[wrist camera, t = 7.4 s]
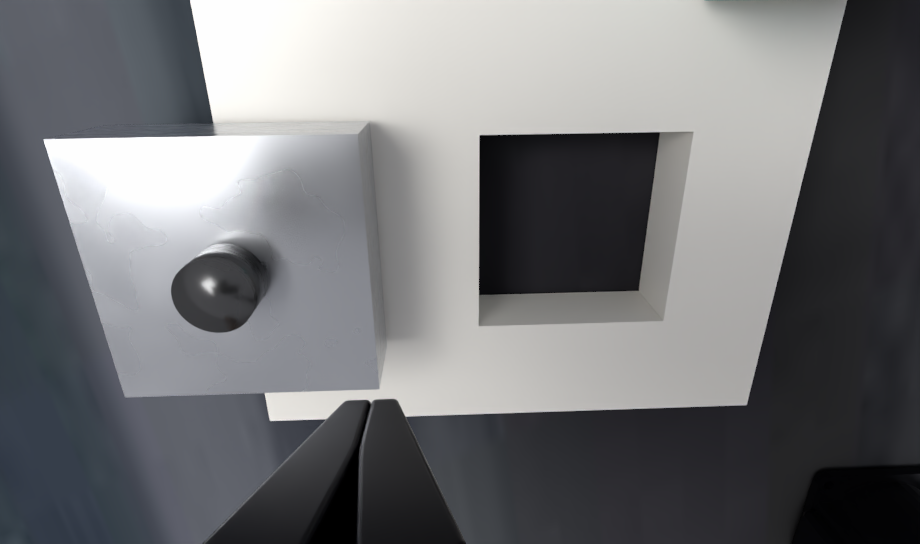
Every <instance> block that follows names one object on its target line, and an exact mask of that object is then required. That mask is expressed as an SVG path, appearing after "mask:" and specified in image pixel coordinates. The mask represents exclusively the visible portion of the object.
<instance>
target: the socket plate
mask: <svg viewBox="0 0 920 544" xmlns="http://www.w3.org/2000/svg"><path fill="white" fill-rule="evenodd" d="M190 2H191V7H192V12H193V17H194V23H195V28H196V33H197V38H198V44H199V49H200V54H201V60H202V65H203V70H204V75H205V81H206V86H207V91H208V97H209V102H210V107H211V112H212V118H213V123H271V122H333V121H370V129H371V142H372V155H373V168H374V182H375V195H376V208H377V221H378V234H379V248H380V261H381V274H382V287H383V300H384V313H385V327H386V340H387V349H386V354H385V360H384V366H383V372H382V378H381V383H380V389H375V390H343V391H312V392H280V393H265V397H266V403H267V408H268V413H269V418H270V421H284V420H315V419H327V418H328V417H329V416H330V415H331V414H332V413H333V412H334V411H335V410H336V409H337V408H338V407H339V406H340V405H341V404H342V403H343V402H345V401H348V400H369V401H370V402H372V401H373V400H376V399H396V400H397V401H398V402H399V404H400V406H401V408H402V410H403V412H404V415H405V416H435V415H465V414H495V413H525V412H555V411H585V410H616V409H646V408H676V407H706V406H736V405H747V402H748V398H749V394H750V390H751V385H752V381H753V377H754V373H755V369H756V365H757V361H758V357H759V353H760V349H761V345H762V341H763V337H764V333H765V329H766V325H767V321H768V317H769V313H770V309H771V305H772V301H773V297H774V293H775V289H776V285H777V281H778V277H779V273H780V269H781V265H782V261H783V257H784V253H785V249H786V245H787V241H788V237H789V233H790V229H791V224H792V220H793V216H794V212H795V208H796V204H797V200H798V196H799V192H800V188H801V184H802V180H803V176H804V172H805V168H806V164H807V160H808V156H809V152H810V148H811V144H812V140H813V136H814V132H815V128H816V124H817V120H818V116H819V112H820V108H821V104H822V100H823V96H824V92H825V88H826V84H827V80H828V76H829V72H830V68H831V63H832V59H833V55H834V51H835V47H836V43H837V39H838V35H839V31H840V27H841V23H842V19H843V15H844V11H845V7H846V3H847V0H723V1H705V0H190ZM638 132H660V136H659V144H658V151H657V158H656V166H655V173H654V181H653V188H652V195H651V203H650V210H649V217H648V225H647V232H646V240H645V247H644V254H643V262H642V269H641V276H640V284H639V291H613V292H575V293H537V294H499V295H479V135H520V134H579V133H638Z"/></svg>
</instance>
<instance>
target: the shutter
mask: <svg viewBox="0 0 920 544" xmlns="http://www.w3.org/2000/svg"><path fill="white" fill-rule="evenodd" d="M43 140H44V143H45V146H46V149H47V152H48V155H49V159H50V162H51V165H52V168H53V171H54V174H55V177H56V181H57V184H58V187H59V190H60V193H61V196H62V200H63V203H64V206H65V209H66V212H67V215H68V219H69V222H70V225H71V228H72V231H73V234H74V237H75V241H76V244H77V247H78V250H79V253H80V256H81V260H82V263H83V266H84V269H85V272H86V275H87V279H88V282H89V285H90V288H91V291H92V294H93V297H94V301H95V304H96V307H97V310H98V313H99V316H100V320H101V323H102V326H103V329H104V332H105V335H106V339H107V342H108V345H109V348H110V351H111V354H112V357H113V361H114V364H115V367H116V370H117V373H118V376H119V380H120V383H121V386H122V389H123V392H124V395H125V397H153V396H185V395H217V394H248V393H280V392H312V391H343V390H375V389H380V383H381V378H382V372H383V366H384V360H385V354H386V349H387V340H386V327H385V313H384V300H383V287H382V274H381V261H380V248H379V234H378V221H377V208H376V195H375V182H374V168H373V155H372V142H371V129H370V121H333V122H271V123H208V124H146V125H103V126H99V127H94V128H90V129H86V130H81V131H77V132H73V133H68V134H64V135H60V136H55V137H51V138H47V139H43Z"/></svg>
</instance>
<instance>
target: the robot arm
mask: <svg viewBox="0 0 920 544" xmlns="http://www.w3.org/2000/svg"><path fill="white" fill-rule="evenodd" d="M203 544H466V542H465V540H464V538H463V536H462V534H461V532H460V530H459V527H458V525H457V523H456V521H455V519H454V517H453V515H452V513H451V511H450V509H449V507H448V504H447V502H446V500H445V498H444V496H443V494H442V492H441V490H440V488H439V486H438V484H437V481H436V479H435V477H434V475H433V473H432V471H431V469H430V467H429V465H428V463H427V461H426V458H425V456H424V454H423V452H422V450H421V448H420V446H419V444H418V442H417V440H416V438H415V435H414V433H413V431H412V429H411V427H410V425H409V423H408V421H407V419H406V417H405V415H404V412H403V410H402V408H401V406H400V404H399V402H398V401H397V400H396V399H376V400H373V401H372V402H370V401H369V400H348V401H345V402H343V403H342V404H341V405H340V406H339V407H338V408H337V409H336V410H335V411H334V412H333V413H332V414H331V415H330V416H329V417H328V418H327V419H326V420H325V421H324V422H323V423H322V424H321V425H320V426H319V427H318V428H317V429H316V430H315V431H314V432H313V433H312V434H311V435H310V436H309V437H308V438H307V439H306V440H305V441H304V442H303V443H302V444H301V445H300V446H299V447H298V448H297V449H296V450H295V451H294V452H293V453H292V454H291V455H290V456H289V457H288V458H287V459H286V460H285V461H284V462H283V463H282V464H281V465H280V466H279V467H278V468H277V469H276V470H275V471H274V472H273V473H272V474H271V475H270V476H269V477H268V478H267V479H266V480H265V481H264V482H263V483H262V484H261V485H260V486H259V487H258V488H257V490H256V491H255V492H254V493H253V494H252V495H251V496H250V497H249V498H248V499H247V500H246V501H245V502H244V503H243V504H242V505H241V506H240V507H239V508H238V509H237V510H236V511H235V512H234V513H233V514H232V515H231V516H230V517H229V518H228V519H227V520H226V521H225V522H224V523H223V524H222V525H221V526H220V527H219V528H218V529H217V530H216V531H215V532H214V533H213V534H212V535H211V536H210V537H209V538H208V539H207V540H206V541H205V542H204V543H203ZM792 544H920V467H912V468H885V469H858V470H832V471H822V472H820V473H818V474H817V475H816V476H815V477H814V479H813V481H812V484H811V487H810V490H809V493H808V496H807V499H806V502H805V505H804V508H803V511H802V514H801V517H800V520H799V523H798V526H797V529H796V532H795V535H794V538H793V541H792Z"/></svg>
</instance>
